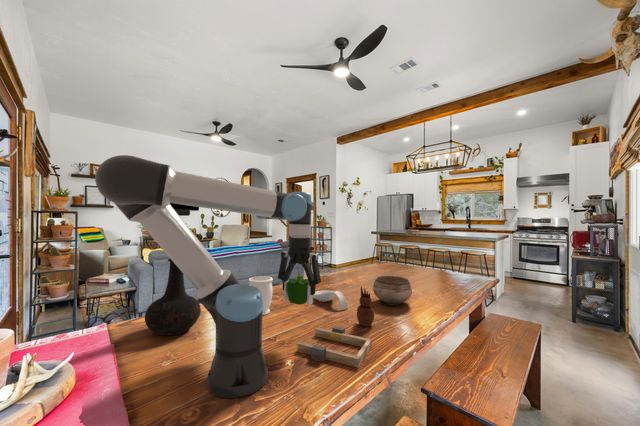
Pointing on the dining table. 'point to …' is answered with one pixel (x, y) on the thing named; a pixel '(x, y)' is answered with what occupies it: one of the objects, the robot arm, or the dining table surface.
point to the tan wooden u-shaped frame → (329, 354)
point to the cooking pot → (392, 289)
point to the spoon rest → (328, 295)
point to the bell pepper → (297, 290)
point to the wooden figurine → (365, 309)
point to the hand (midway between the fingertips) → (298, 301)
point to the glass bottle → (173, 307)
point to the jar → (263, 290)
